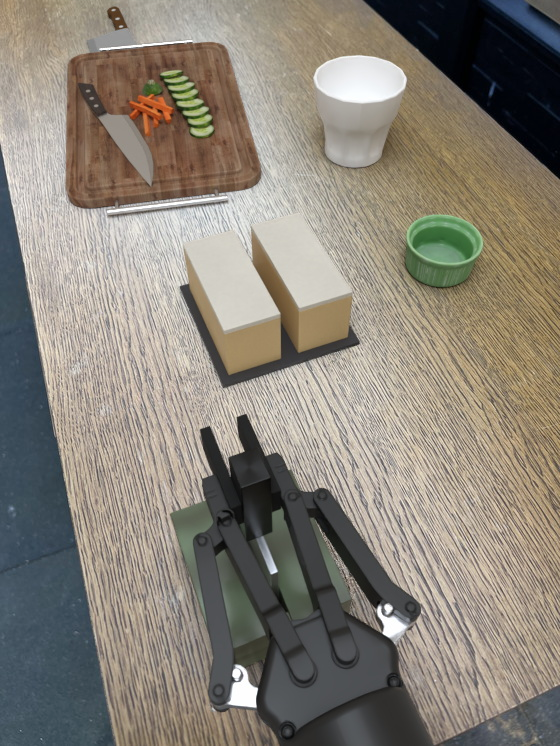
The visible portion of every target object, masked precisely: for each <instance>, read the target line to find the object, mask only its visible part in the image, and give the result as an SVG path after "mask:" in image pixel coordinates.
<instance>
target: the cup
mask: <svg viewBox="0 0 560 746" xmlns="http://www.w3.org/2000/svg"><path fill="white" fill-rule="evenodd" d="M312 80H313V89H314V98H315V106H316V109H317V112H318V115H319V117H320V119H321V121H322V124H323V132H324V139H325V141H324V154H325V156H326V158H327V159H328V160H330V161H331V162H332V163H334V164H335V165H338V166H341V167H343V168H344V167H345V168H352V169H356V168H365V167H369V166H371V165H373V164H375V163H377V162H378V161H380V159H381V158H382V155H383V151H384V146H385V143H386V140H387V138H388V135H389V131H390V129H391V126H392V123H394V120H395V119H396V117H397V116H398V114H399V110H400V107H401V104H402V101H403V97H404V94H405V90H406V87H407V81H408V78H407V76H406V74H405V73H404V71H403V69H402V68H400V67H399V66H397V64H395V63H394V62H392V61H389V60H386V59H384V58H380V57H377V56H370V55H369V56H368V55H359V54H355V55H345V56H339V57H336V58H333V59H329V60H327V61H325V62H324V63H322V64H321V65H320V66H318V67H317V68H316V70H315V72H314V74H313V77H312Z"/></svg>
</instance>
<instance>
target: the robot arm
mask: <svg viewBox="0 0 560 746" xmlns="http://www.w3.org/2000/svg"><path fill="white" fill-rule="evenodd" d="M236 425H237V427H236V428H237V436H238V439H239V442H240V444H241V447H242V449H243V452H245V451H247V450H250V449H253V448H256V447H257V448H258V449H259V451H260V454H261V456H262V458H263V460H264V462H265V465H266V467H267V469H268V471H269V474H270V476H271V492H272V512H274V511H277V510H280V509H281V507H282V509H283V511H284V521H286V524H287V527H288V530H289V533H290V536H291V539H292V543H293V546H294V549H295V552H296V555H297V558H298V561H299V564H300V568H301V571H302V574H303V577H304V580H305V583H306V586H307V589H308V593H309V596H310V599H311V602H312V606H313V611H314V612H313V613H312V614H310V615H309V616H308V617H307V618H305V619H298V620H291V621H290V619H289V617H288V615H287V614H286V612H285V610H284V608H283V607H282V605H281V604H280V603H279V601H278V599H277V597H276V595H275V594H274V592H273V590H272V588H271V586H270V584H269V582H268V580H267V578H266V576H265V575H264V573H263V571H262V569H261V567H260V565H259V563H258V561H257V559H256V557H255V555H254V554H253V552H252V550H251V548H250V546H249V544H248V542H247V540H246V538H245V536H244V535H243V533H242V531H241V529H240V527H239V525H240V524H242V523H243V513H242V505H241V502H240V500H239V497H238V495H237V492H236V490H235V487H234V485H233V482H232V480H231V476H230V471H229V470H228V467H227V465H226V462H225V460H224V457H223V454H222V452H221V450H220V446H219V445H218V442H217V440H216V438H215V435H214V432H213V429H212V428H211V425H208V426H205V427H202V428H200V429H199V433H200V438H201V444H202V449H203V452H204V455H205V458H206V460H207V462H208V465H209V467H210V470H211V472H212V474H211V475H209V476H206V477H202V480H201V489H202V493H203V497H204V501H205V500H206V502H207V505H208V508H209V511H210V513H211V516H212V519H213V524H212V526H211V527H210V528H209V529H208V530H207V531H205V532H201V533H198V534H197V535H196V536H195V537H194V539H193V548H194V554H195V559H196V565H197V570H198V576H199V582H200V587H201V593H202V598H203V604H204V610H205V615H206V621H207V627H208V630H207V633H208V632H209V633H208V637H209V643H210V649H211V655H212V661H211V668H210V674H209V681H208V686H207V696H208V699H209V701H210V703H211V706H212V708H213V709H214V710H215V712H218V713H226V712H227V711H229V710H230V709H236V710H245V711H252V712H253V711H254V712H257V715H258V717H259V718H260V720H261V722H263V723H264V724H265V725H266V726H267V727H268V728H269V729H270V730H271V731H272V733H273V734H274V737H275V738H276V741H277V743H278V746H435V744H434V742H433V740H432V738H431V735H430V733H429V732H428V729H427V727H426V725H425V723H424V721H423V719H422V716H421V715H420V712H419V711H418V709H417V706H416V705H415V703H414V700H413V698H412V696H411V694H410V692H409V689H408V688H407V686H406V683H405V682H404V680H403V678H402V674H401V670H400V655H399V650H398V647H397V646H398V644H399V642H401V640H402V638H403V637H404V635H405V634H406V633H407V632H408V631H411V630H412V629H413V628H414V627H415V624H416V622H417V621H418V619H419V617H420V615H421V612H422V605H421V603H420V602H419V601H418V599H416V598H415V597H413V596H412V595H411V594H410V593H408V592H406V590H404V589H403V588H402V587H400V586H399V585H398V584H396V583H395V582H394V581H393V580H392V579H391V577H390V576H389V574H388V573H387V572H386V570H385V568H384V567H383V566H382V564H381V563H380V561H379V560H378V558H377V557H376V556H375V554H374V552H372V550H371V548H370V547H369V546H368V544H367V543H366V541H365V540H364V539H363V537H362V536H361V535H360V533H359V531H358V530H357V528H356V527H355V526H354V524H353V523H352V521H351V520H350V518H349V517H348V515H347V514H346V513H345V511H344V510H343V508H342V507H341V505H340V504H339V503H338V501H337V500H336V497H334V495H333V494H332V492H331V491H330V490H329V489H328V488H325V487H319V488H316V489H315V490H314V491H304V490H302V489H301V490H299V489H298V488H297V487H296V485H295V483H294V481H293V479H292V476H291V474H290V472H289V470H290V469H289V468H288V466H287V464H286V461H285V459H284V458H283V456H282V455H281V454H280V453H279V452H278V451H276V452H273V453H270V454H268V455H266V454H265V452H264V449H263V447H262V445H261V443H260V440H259V438H258V435H257V434H256V431H255V430H254V427H253V425H252V423H251V420H250V418H249V416H248V414H247V413H244V414H241V415H238V416H236ZM310 518H314V519H315V521H316V523H317V525H318V527H319V529H320V530H321V532H322V533H323V534H324V535H325V538H327V540H328V541H329V543H330V545H331V546H332V548H333V549H334V551H335V552H336V553H337V555H338V557H339V558H340V560H341V562H342V563H343V564H344V566H345V567H346V569H347V571H348V572H349V573H350V575H351V577H352V578H353V580H354V581H355V583H356V584H357V586H358V587H359V589H360V590H361V592H362V593H363V595H364V596H365V598H366V599H367V600H368V602H369V604H370V605H371V606H372V607H373V608H374V609H375V612H374V613H375V614H374V618H375V621H376V622H377V624H378V625H379V626H380V629H381V631H379V630H377V629H376V628H374V627H373V626H371V625H369V624H368V623H366V622H364V621H363V620H361V619H359V618H358V617H357V616H355V615H353V614H352V613H350V612H349V613H348V612H346V611H344V610H343V608H342V605H341V602H340V600H339V597H338V594H337V591H336V588H335V586H334V585H333V584H332V581H331V578H330V575H329V572H328V569H327V567H326V564H325V561H324V558H323V555H322V552H321V549H320V546H319V543H318V540H317V538H316V535H315V532H314V529H313V526H312V523H311V520H310ZM223 550H225V552H226V554H227V556H228V558H229V560H230V562H231V564H232V566H233V568H234V570H235V572H236V574H237V576H238V578H239V580H240V582H241V584H242V586H243V588H244V590H245V592H246V594H247V596H248V598H249V600H250V602H251V604H252V606H253V608H254V610H255V612H256V614H257V616H258V618H259V620H260V622H261V624H262V626H263V629H264V631H265V634H266V636H267V638H268V640H269V645H268V649H267V653H266V657H265V659H264V662H263V666H262V669H261V674H260V678H259V681H258V686H257V687H256V686H254V685H252V683H250V680H249V675H248V674H249V673H248V671H247V669H246V667H243V666H241V665H236V658H235V652H234V647H233V642H232V637H231V632H230V627H229V622H228V617H227V612H226V607H225V602H224V597H223V592H222V587H221V582H220V577H219V572H218V566H217V561H216V556H217V555H218V554H219V553H220V552H222V551H223ZM207 627H206V628H207Z"/></svg>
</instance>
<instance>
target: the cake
mask: <svg viewBox="0 0 560 746" xmlns="http://www.w3.org/2000/svg"><path fill="white" fill-rule="evenodd" d="M250 237H251V238H250V239H251V257H252V259H251V258H250V256H249V254H248V252H247V251H246V249H245V247H244V245H243V244H242V242H241V240H240V239H239V237H238V234H237V233H236V231H235V230H234V229H231V230H230V229H229V230H226V231H223V232H219V233H215V234H211V235H207V236H204V237H199V238H196V239H193V240H189V241H184V242H182V249H183V256H184V262H185V267H186V274H187V280H188V283H186V284H183V285H179V290H180V292H181V294H182V297H183V299H184V302H185V304H186V307H187V309H188V311H189V313H190V316H191V317H192V318H191V319H193V322H194V324H195V326H196V329H197V332H198V333H199V336H200V338H201V340H202V343H203V345H204V348H205V350H206V352H207V354H208V356H209V358H210V361H211V363H212V365H213V368H214V371H215V372H216V375H217V377H218V379H219V381H220V384H221V386H222V388H223V389H224V388H228V387H230V386H231V387H232V386H233V385H237V384H240V383H243V382H247V381H250V380H252V379H255V378H259V377H262V376H265V375H268V374H271V373H274V372H278V371H281V370H283V369H286V368H290V367H292V366H296V365H299V364H302V363H305V362H308V361H311V360H315V359H317V358H318V359H319V358H321V357H324V356H326V355H329V354H332V353H336V352H339V351H342V350H345V349H349V348H351V347H355V346H358V345H360V343H361V340H360V339H359V337H358V336H357V334H356V333H355V331H354V329H353V328H352V326H351V325H350V321H351V312H352V304H353V303H352V302H353V294H354V291H353V290H352V288H351V286H350V285H349V284H348V282H347V281H346V279H345V278H344V277H343V275H342V273H341V272H340V270H339V269H338V267H337V266H336V264H335V263H334V261H333V260H332V258H331V256H330V255H329V254H328V252H327V251H326V249H325V248H324V246H323V245H322V244H321V242H320V240H319V239H318V238H317V236H316V235H315V233H314V232H313V230H312V229H311V227H310V225H309V224H308V223H307V221H306V219H305V218H304V217H303V215H302V214H301V212H300V211H298V212H293V213H290V214H287V215H283V216H278V217H275V218H271V219H267V220H263V221H260V222H256V223H253V224H250Z"/></svg>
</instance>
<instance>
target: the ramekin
mask: <svg viewBox="0 0 560 746" xmlns="http://www.w3.org/2000/svg"><path fill="white" fill-rule="evenodd" d="M405 243H406V250H405V257H404V258H405V262H404V263H405V267H406V269H407V271H408V272H409V274H410V275H411V276H412V277H413V278H414V279H415V280H417V281H418V282H420V283H422V284H424V285H427V286H431V287H436V288H450V287H454V286H457V285H460V284H462V283H463V282H465V281H466V280H467V279H468V278H469V277H470V275H471V273H472V271H473V268H474V266H475V263H476V261H477V259H478V258H479V257H480V255H481V253H482V252H483V249H484V238H483V236H482V234H481V232H480V231H479V230H478V228H476V226H475V225H473V224H472V223H471V222H469V221H467V220H465V219H463V218H461V217H458V216H455V215H450V214H440V213H439V214H429V215H425V216H421V217H419V218H418V219H416V220H414V221H413V222H412V223H411V224H410V225H409V226H408V228H407V231H406V234H405Z"/></svg>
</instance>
